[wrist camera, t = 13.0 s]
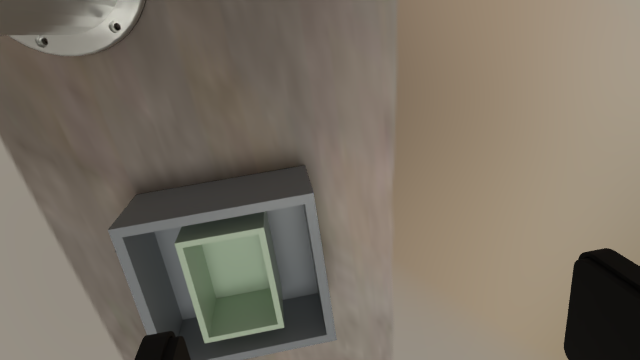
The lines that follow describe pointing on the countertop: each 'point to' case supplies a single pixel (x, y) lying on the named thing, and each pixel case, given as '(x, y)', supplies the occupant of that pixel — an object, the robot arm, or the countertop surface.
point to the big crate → (215, 204)
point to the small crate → (232, 276)
